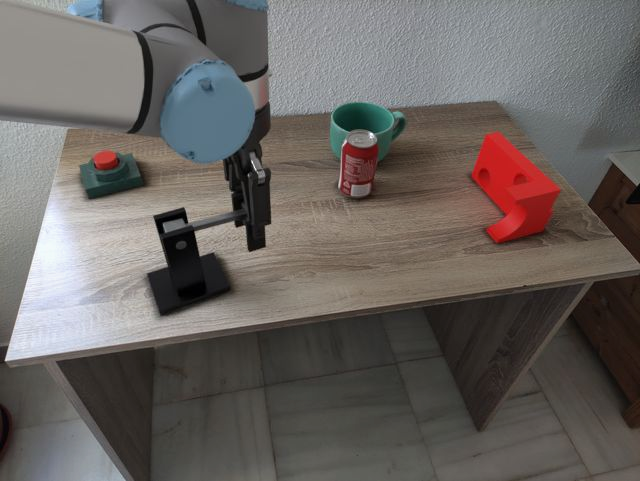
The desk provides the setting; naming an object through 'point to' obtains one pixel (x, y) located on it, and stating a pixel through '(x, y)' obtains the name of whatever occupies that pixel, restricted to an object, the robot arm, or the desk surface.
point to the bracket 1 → (184, 268)
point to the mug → (365, 125)
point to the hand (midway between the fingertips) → (249, 235)
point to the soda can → (358, 163)
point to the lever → (208, 220)
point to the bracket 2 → (514, 189)
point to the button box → (110, 176)
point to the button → (106, 160)
